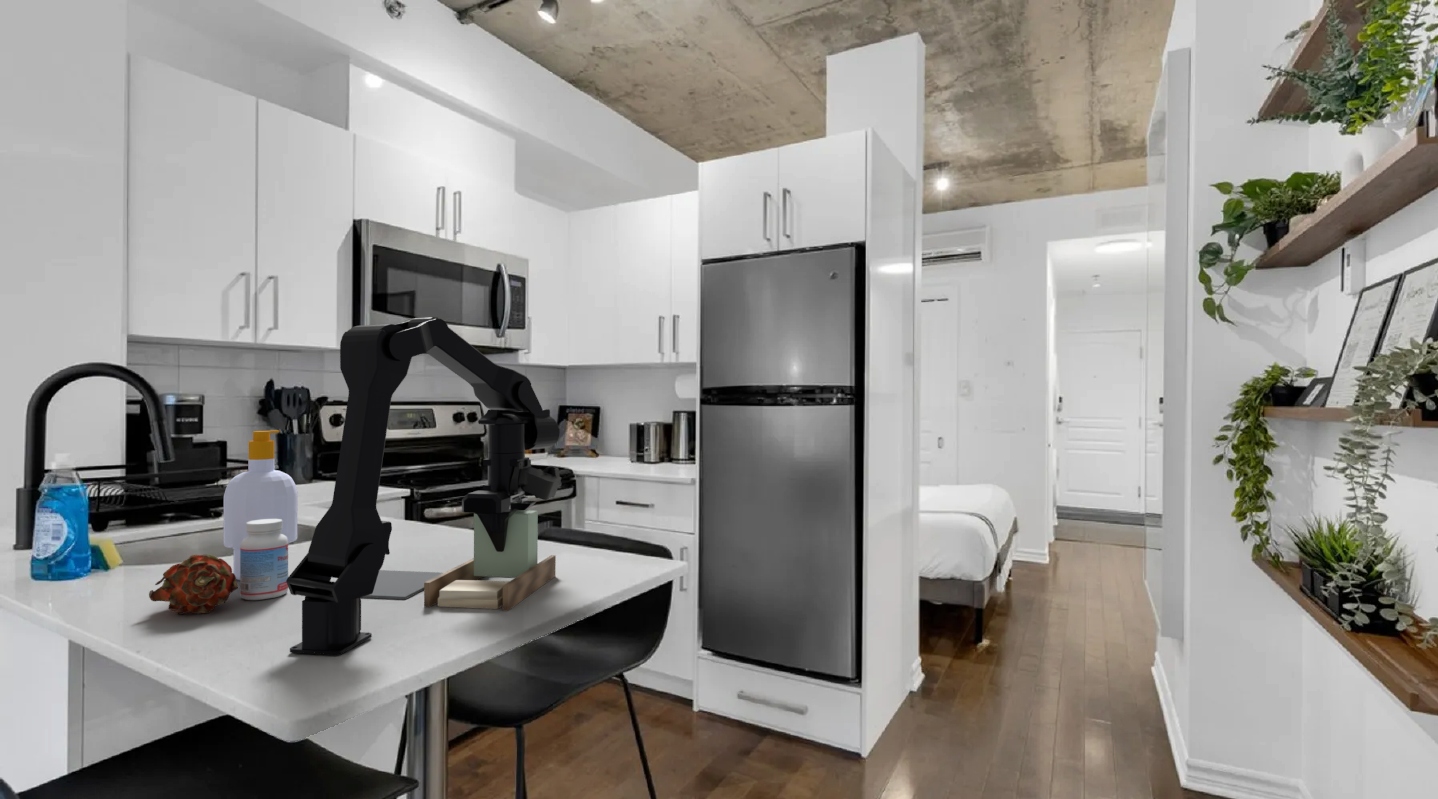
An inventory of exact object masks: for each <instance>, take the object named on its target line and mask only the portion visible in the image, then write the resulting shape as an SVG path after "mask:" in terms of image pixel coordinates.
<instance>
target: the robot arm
mask: <svg viewBox="0 0 1438 799" xmlns="http://www.w3.org/2000/svg"><path fill="white" fill-rule="evenodd" d="M339 345H340V346H339V355H340V356H339V361H340V362H339V363H340V365H339V367H340V372H341V374H342V377H343V378H344V379H343V380H344V381H345V384H346V386H347V389H348V397H347V404H346V408H345V417H344V423H343V429H342V438H341V443H340V450H339V456H338V463H337V470H336V477H335V482H334V490H333V495H332V501H331V505H330V507H329V508H328V509H327V511H326V512H325V514H324V515H323V516H322V517H321V519H320V521H318V523H317V524H316V525H315V529H314V532H313V535H312V539H311V540H310V541H311V542H310V545H309V548H308V552H307V553H306V555H305V556H304V557H303V558H302V560H301V561H300V562H299V563H298V565H296V567H295V568H294V570H293V571H292V572H291V574H290V575H288V578H287V580H286V582H287V585H288V591H289V593H290V595H292V596H301V597H304V600H302V601H301V642H299V643H297V644H295V645H293V646H291V647H289V653H293V654H311V655H332V656H338V655H340V656H341V655H342V654H345V653H346V652H347V651H350V650H351V649H353V648H354V647H357V646H358V645H360V644H362V643H364V642H366V641H368V640H369V639H371V638H372V636H373V634H372V632H364V631H363V632H362V599H361V597H363V596H366V595H370V594H372V593H373V590H374V587H375V584H376V580H377V577H378V573H379V570H382V567H383V565H384V562H385V559H386V558H385V557H386V555H387V556H388V555H391V554H390V553H391V552H390V547H389V545H390V544H389V542H390V537H391V534H392V531H393V526H392V525H393V524H392V521H389V520H387V521H386V520H382V519H381V516H380V514H379V512H378V508H377V502H378V495H379V488H380V481H381V475H382V474H381V473H382V469H383V468H382V466H383V462H384V461H383V458H384V453H385V446H386V438H387V431H388V423H389V417H390V416H389V415H390V410H391V403H392V398H393V395H394V394H395V392H396V390H397V389H398V388H399V386H400V385H401V384H402V382H403V381H404V380H405V379H406V377H407V375H408V372H409V369H410V365H411V363H412V362H411V361H412V359H413V357H417V356H418V355H422V354H425V353H426V354H427V355H429V356H430V357H432V358H433V359H434V360H436V361H438V362H439V363H440V364H442V365H443V366H444V367H445V368H446V369H449V370H450V371H451V372H452V373H453V374H455V375H457V376H458V377H459V378H461V379H462V380H464V381H465V382H466V383H467V384H469V385H470V386H471V387H472V389H473V393H474V394H473V395H474V396H475V397H476V398H477V399H478V401H480V403H481V404H483V405H484V407H486V408H487V409H488V410H487V411H486V412H485V414H484V415H483V416H481V417H480V418H479V419H478V421H477V423H478V424H479V425H485V426H486V425H487V452H488V453H487V458H483V459H482V466H483V467H484V466H485V467H486V466H487V483H486V484H483V485H482V490H475V491H473V492H468V493H467V494H465V496H464V497H463V498H462V499H461V512H462V513H473V515H474V514H477V515H478V517H479V519H480V520H481V522H482V524H483V526H484V527H485V529H486V531H487V533H488V535H489V537H490V539H491V541H492V543H493V545H494V547H495V549H496V551H497V552H503V551H504V548H505V542H506V535H507V527H508V520H509V518H510V517H511V516H512V515H513V514H514V513H515V512H516V510H529V509H531V507H532V506H533V505H535V504H536V503H537V501H536V500H529V497H535V499H539V500H543V501H548V500H549V499H551V498H555V497H556V494H557V491H558V488H559V487H561V486H562V481H561V480H562V477H561V476H560V469H559V468H558V467H556V466H553V465H549V466H546V467H545V468H544V469H543V470H542V469H541V468H539V469H538V468H534V467H533V466H532V460H531V459H530V457H527V456H526V451H531V450H539V449H541V450H542V449H548V448H549V449H550V448H552V447H553V446H555V445H556V444H557V443H558V441H559V438H560V433H561V432H560V429H561V428H559V424H558V422H557V421H556V420H555V418H553V417H552V416H551V410H550V409H549V408H547V409H546V408H543V407H542V405H541V403H540V401H539V399H538V396H537V395H536V393H535V391H534V388H533V386H532V383H531V380H530V379H529V378H528V377H527V376H526V375H524V374H522V373H521V372H518V371H516V370H515V369H512V368H508V367H505V366H501V365H499V364H496V363H495V362H493V361H492V360H491V359H489V358H488V357H487V356H486V355H484V354H483V353H482V352H481V351H479V350H478V349H476V348H475V347H474V346H473V345H472V344H470V342H468V341H467V340H465V339H464V338H463V337H462V336H461V335H459V334H458V333H456V331H454V330H453V329H451V328H450V327H449V325H448V323H447V322H446V321H445V320H444V319H442V318H439V317H435V316H430V317H427V316H425V317H415V318H414V317H413V318H411V319H410V320H407V321H403V322H399V323H395V324H393V323H388V324H387V323H386V324H385V323H384V324H371V325H370V324H368V325H367V324H366V325H362V324H361V325H356V326H352V327H351V328H349V329H348V330H347V331H344V333H343V334H342V336H341V339H340V344H339ZM332 578H333V579H336V580H335V581H331V579H332Z"/></svg>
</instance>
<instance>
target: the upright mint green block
mask: <svg viewBox="0 0 1438 799" xmlns="http://www.w3.org/2000/svg"><path fill="white" fill-rule="evenodd" d="M538 511H539V510H532V509H531V510H529V509H528V510H516V512H515V513H514V514H513V515H512V516H511V517H510V518H509V520H508V527H507V535H506V542H505V548H504V551H503V552H497V551H496V549H495V547H494V545H493V543H492V541H491V539H490V537H489V535H488V533H487V531H486V529H485V527H484V526H483V524H482V522H481V520H480V519H479V517H478V515H477V514H474V513H473V558H474V576H483V577H494V578H495V577H496V578H516V577H517V576H519V575H521V574H522V573H524V572H525V571H527V570H528V569H530V568H532V567H533V566H535V565H536V564H538V552H539V551H538V549H539V548H538V547H539V545H538V542H539V541H538V536H539V534H538V532H539V530H538V529H539V526H538V525H539V523H538V520H539V518H538V517H539V516H538V515H539V514H538V513H539V512H538Z"/></svg>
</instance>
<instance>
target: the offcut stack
mask: <svg viewBox="0 0 1438 799" xmlns="http://www.w3.org/2000/svg"><path fill="white" fill-rule="evenodd" d="M509 581H510V580H480V579H478V580H455V581H454V582H452V583H451V584H449V585H447V586H446V587H444V588H443V589H441V590H439V598H438V603H437V607H447V608H465V609H467V608H469V609H487V610H489V609H490V610H498V609H499V608H501V607H503V585H505V584H506V583H508V582H509Z"/></svg>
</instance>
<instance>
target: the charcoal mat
mask: <svg viewBox="0 0 1438 799" xmlns="http://www.w3.org/2000/svg"><path fill="white" fill-rule="evenodd" d="M443 573H444V572H438V571H437V572H436V571H434V572H433V571H432V572H431V571H411V570H387V569H386V570H385V569H384V570H383V569H380V570H379V573H378V577H377V580H376V584H375V587H374V590H373V593H372V594H370V595H366V596H363V597H360V599H361V598H363V599H365V598H366V599H387V600H406V599H407V600H408V599H409V598H411V597H413V596H415V595H417V594H419V593H421V592H422V591H424V582H426V581H428V580H430V579H432V578H434V577H436V576H438V575H440V574H443Z"/></svg>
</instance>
